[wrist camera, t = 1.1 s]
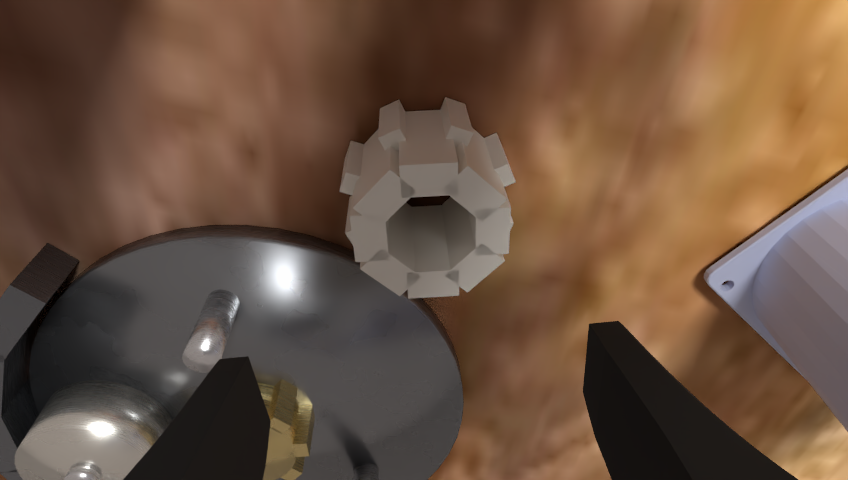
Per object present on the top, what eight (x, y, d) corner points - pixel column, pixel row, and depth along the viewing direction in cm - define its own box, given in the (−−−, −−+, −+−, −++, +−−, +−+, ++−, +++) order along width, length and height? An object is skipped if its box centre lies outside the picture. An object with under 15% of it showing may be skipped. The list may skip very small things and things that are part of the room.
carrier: (543, 380, 26) (565, 455, 23) (287, 563, 34) (275, 641, 30) (146, 100, 19) (92, 154, 15) (-75, 417, 26) (-144, 500, 23)
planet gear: (535, 167, 21) (562, 228, 17) (428, 263, 23) (434, 333, 19) (420, 63, 18) (426, 109, 15) (314, 179, 20) (299, 242, 17)
